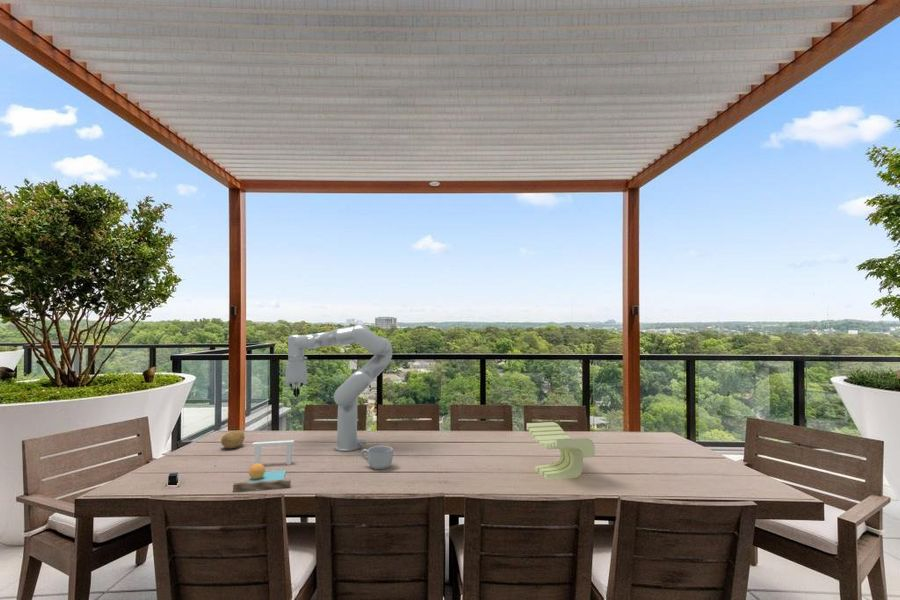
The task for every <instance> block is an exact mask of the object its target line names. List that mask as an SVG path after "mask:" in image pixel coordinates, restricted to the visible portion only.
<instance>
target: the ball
mask: <svg viewBox="0 0 900 600" xmlns="http://www.w3.org/2000/svg"><path fill="white" fill-rule="evenodd" d="M265 467H266V466H264V464H262V463H261V464H260V463H256V464H255V463H253V465H251V466H250V468H249V469H248V475H249V477H250V478H253V479H260V478H261V477H262V476H263V475H264V473H265V472H266V468H265Z"/></svg>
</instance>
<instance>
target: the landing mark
mask: <svg viewBox="0 0 900 600" xmlns="http://www.w3.org/2000/svg"><path fill="white" fill-rule="evenodd" d="M286 473H287V469H286V470H271V471H265V473H264V475H263V476H262V477H261V478H260V479H253V478H251V477H250V478H249V479H248V481H247V482H258V481H272V480H285V475H286Z"/></svg>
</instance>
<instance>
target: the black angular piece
mask: <svg viewBox="0 0 900 600" xmlns="http://www.w3.org/2000/svg"><path fill="white" fill-rule="evenodd" d="M178 481H179V472H172V473H171V472H170V473H169V475H168V478H167V482H168V485H177V483H178Z"/></svg>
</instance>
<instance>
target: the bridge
mask: <svg viewBox="0 0 900 600" xmlns="http://www.w3.org/2000/svg"><path fill="white" fill-rule="evenodd" d="M251 445H252V448H254V464H256V463H260V464H262V463H261V462H262V461H261V459H262V458H261V457H262V456H261V453H262V447H270V446H271V447H276V446H285V447H286V452H285V453H286V455H285V459H286V460H285V465H286V464H288V465H292V463H293V460H292V459H293V456H292V455H293V454H292V453H293V449H292V448H293V446H294V445H295V439H293V440H292V439H290V440H272V441H256V442H254V441H253V442H252V444H251Z"/></svg>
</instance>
